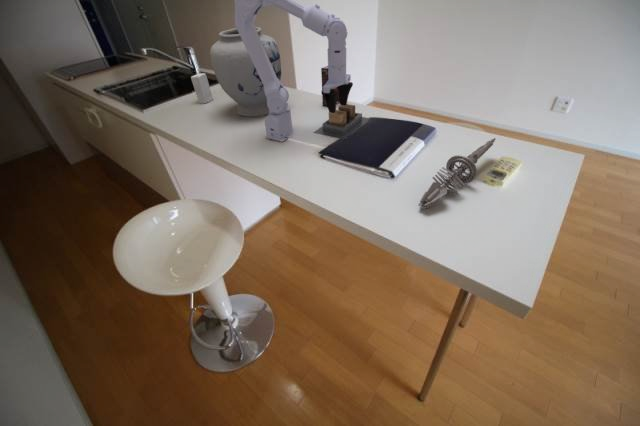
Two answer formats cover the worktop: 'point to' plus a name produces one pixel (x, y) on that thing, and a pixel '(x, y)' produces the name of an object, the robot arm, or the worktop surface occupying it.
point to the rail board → (342, 127)
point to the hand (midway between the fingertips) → (337, 108)
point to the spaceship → (454, 176)
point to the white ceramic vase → (243, 71)
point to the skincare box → (202, 88)
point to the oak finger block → (337, 118)
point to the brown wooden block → (348, 110)
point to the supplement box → (324, 80)
